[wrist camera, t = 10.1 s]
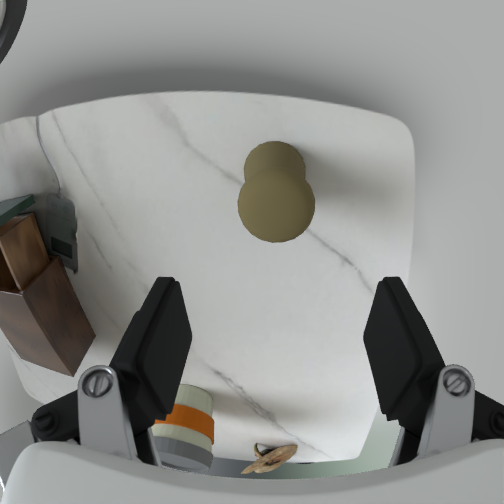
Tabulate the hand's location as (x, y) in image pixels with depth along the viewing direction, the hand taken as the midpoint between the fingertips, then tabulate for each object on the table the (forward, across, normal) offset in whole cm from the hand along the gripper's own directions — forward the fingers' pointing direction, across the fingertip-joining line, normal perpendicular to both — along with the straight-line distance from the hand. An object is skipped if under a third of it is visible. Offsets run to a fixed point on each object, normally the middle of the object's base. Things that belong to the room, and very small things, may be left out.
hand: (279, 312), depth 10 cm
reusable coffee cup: (+20, +16, +42) cm, 49 cm away
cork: (+20, 0, 0) cm, 20 cm away
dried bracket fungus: (+20, -1, +71) cm, 74 cm away
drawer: (+19, +38, +5) cm, 43 cm away
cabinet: (+20, +38, +18) cm, 46 cm away
